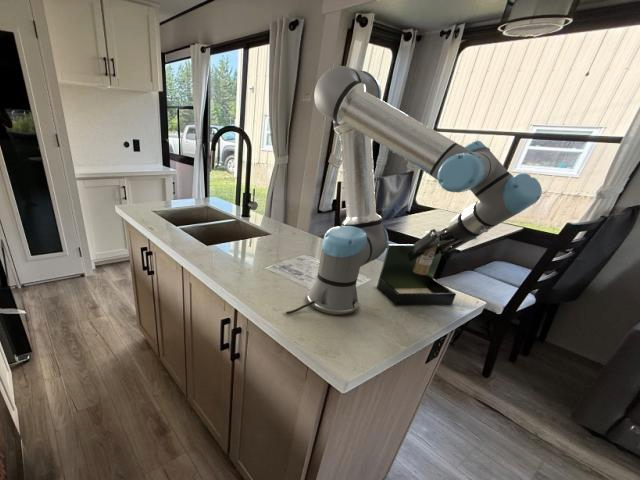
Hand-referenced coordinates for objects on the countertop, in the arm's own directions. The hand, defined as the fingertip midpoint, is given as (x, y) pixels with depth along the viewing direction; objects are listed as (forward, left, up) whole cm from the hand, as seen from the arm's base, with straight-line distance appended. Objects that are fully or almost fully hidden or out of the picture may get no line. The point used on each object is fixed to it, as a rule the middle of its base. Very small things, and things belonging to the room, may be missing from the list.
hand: (416, 257), depth 107 cm
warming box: (0, -4, -12) cm, 13 cm away
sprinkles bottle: (0, -4, -4) cm, 6 cm away
